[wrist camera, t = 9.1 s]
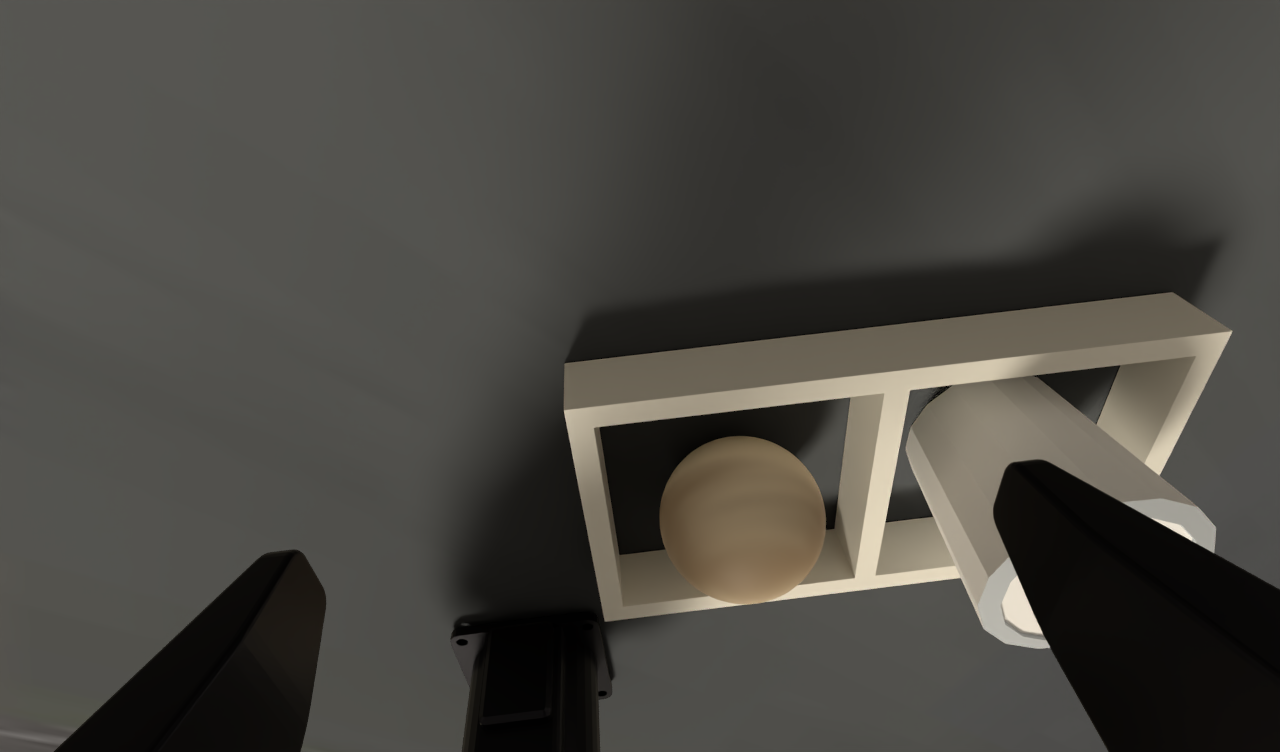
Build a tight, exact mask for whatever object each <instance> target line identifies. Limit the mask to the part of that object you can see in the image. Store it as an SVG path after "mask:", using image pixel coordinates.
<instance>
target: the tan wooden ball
mask: <svg viewBox="0 0 1280 752" xmlns="http://www.w3.org/2000/svg"><path fill="white" fill-rule="evenodd" d="M659 513H660V531H661V536H662V540H663V544H664V546H665V549H666V551H667V553H668V556H669V558H670V560H671V561H672V563H673V564H674V566H675V568H676V569H677V571H678V572H679V573H680V574H681V575H682V576H683V577H684V578H685V579H686V580H687V582H689V583H690V584H691V585H693V586H694V587H695V588H696V589H698V590H699V591H701V592H702V593H704V594H706V595H708V596H710V597H712V598H715V599H717V600H721V601H724V602H728V603H734V604H757V603H762V602H766V601H770V600H773V599H776V598H778V597H780V596H782V595H784V594H786V593H788V592H789V591H791V590H792V589H793V588H795V587H796V586H797V585H798V584H799V583H801V582H802V581H803V580H804V579H805V578H806V576H807V575H808V574H809V572H810V571H811V570H812V568H813V567H814V565H815V563H816V562H817V559H818V557H819V555H820V552H821V550H822V547H823V542H824V538H825V533H826V514H825V507H824V502H823V499H822V496H821V493H820V490H819V488H818V485H817V484H816V482H815V480H814V478H813V477H812V475H811V473H810V472H809V471H808V469H807V468H806V467H805V466H804V465H803V464H802V462H801V461H800V460H799V459H797V458H796V457H795V456H794V455H793V454H791V453H790V452H789V451H787V450H786V449H784V448H782V447H781V446H779V445H777V444H775V443H772V442H770V441H767V440H764V439H760V438H756V437H750V436H731V437H724V438H720V439H716V440H713V441H711V442H708V443H706V444H704V445H702V446H700V447H698V448H697V449H695V450H694V451H692V452H691V453H690V454H688V455H687V456H686V457H685V458H684V459H683V460H682V461H681V462H680V463H679V464H678V466H677V467H676V468H675V470H674V471H673V473H672V474H671V476H670V478H669V480H668V482H667V484H666V486H665V489H664V492H663V495H662V499H661V504H660V512H659Z"/></svg>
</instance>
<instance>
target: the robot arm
mask: <svg viewBox="0 0 1280 752" xmlns="http://www.w3.org/2000/svg"><path fill="white" fill-rule="evenodd" d="M993 518H994V522H995V525H996V528H997V530H998V532H999V535H1000V537H1001V539H1002V542H1003V544H1004V546H1005V549H1006V551H1007V553H1008V556H1009V558H1010V560H1011V563H1012V565H1013V567H1014V570H1015V572H1016V574H1017V576H1018V579H1019V581H1020V583H1021V586H1022V588H1023V590H1024V593H1025V595H1026V597H1027V600H1028V602H1029V604H1030V607H1031V609H1032V611H1033V614H1034V616H1035V618H1036V620H1037V622H1038V624H1039V627H1040V629H1041V631H1042V633H1043V635H1044V637H1045V639H1046V641H1047V643H1048V644H1049V646H1050V648H1051V650H1052V652H1053V654H1054V655H1055V657H1056V659H1057V661H1058V663H1059V664H1060V666H1061V668H1062V670H1063V672H1064V673H1065V675H1066V677H1067V679H1068V680H1069V682H1070V684H1071V686H1072V688H1073V689H1074V691H1075V693H1076V695H1077V696H1078V698H1079V700H1080V702H1081V704H1082V705H1083V707H1084V709H1085V711H1086V712H1087V714H1088V716H1089V718H1090V720H1091V721H1092V723H1093V725H1094V727H1095V729H1096V730H1097V732H1098V734H1099V736H1100V737H1101V739H1102V741H1103V743H1104V745H1105V746H1106V748H1107V750H1108V752H1280V589H1278V588H1276V587H1274V586H1272V585H1271V584H1269V583H1267V582H1265V581H1263V580H1262V579H1260V578H1258V577H1256V576H1254V575H1253V574H1251V573H1249V572H1247V571H1245V570H1244V569H1242V568H1240V567H1238V566H1236V565H1234V564H1233V563H1231V562H1229V561H1227V560H1225V559H1224V558H1222V557H1220V556H1218V555H1216V554H1215V553H1213V552H1211V551H1209V550H1207V549H1206V548H1204V547H1202V546H1200V545H1198V544H1197V543H1195V542H1193V541H1191V540H1189V539H1188V538H1186V537H1184V536H1182V535H1180V534H1178V533H1177V532H1175V531H1173V530H1171V529H1169V528H1168V527H1166V526H1164V525H1162V524H1160V523H1159V522H1157V521H1155V520H1153V519H1151V518H1150V517H1148V516H1146V515H1144V514H1142V513H1141V512H1139V511H1137V510H1135V509H1133V508H1132V507H1130V506H1128V505H1126V504H1124V503H1122V502H1121V501H1119V500H1117V499H1115V498H1113V497H1112V496H1110V495H1108V494H1106V493H1104V492H1103V491H1101V490H1099V489H1097V488H1095V487H1094V486H1092V485H1090V484H1088V483H1086V482H1085V481H1083V480H1081V479H1079V478H1077V477H1076V476H1074V475H1072V474H1070V473H1068V472H1066V471H1065V470H1063V469H1061V468H1059V467H1057V466H1056V465H1054V464H1052V463H1050V462H1048V461H1046V460H1042V459H1034V460H1026V461H1017V462H1012V463H1010V464H1009V465H1008V466H1007V467H1006V468H1005V470H1004V473H1003V477H1002V480H1001V483H1000V486H999V489H998V492H997V495H996V499H995V502H994V505H993ZM325 610H326V595H325V591H324V589H323V586H322V585H321V583H320V581H319V579H318V578H317V576H316V574H315V572H314V571H313V569H312V567H311V566H310V564H309V562H308V560H307V559H306V557H305V555H304V554H303V553H302V552H300V551H298V550H286V551H277V552H270V553H266V554H264V555H262V556H261V557H260V558H258V559H257V560H256V561H255V562H254V563H253V564H252V565H251V566H250V567H249V568H248V569H247V570H245V571H244V572H243V573H242V574H241V575H240V576H239V577H238V578H237V579H236V580H235V581H234V582H233V583H232V584H231V585H230V586H229V587H227V588H226V589H225V590H224V591H223V592H222V593H221V594H220V595H219V596H218V597H217V598H216V599H215V600H214V601H213V602H212V603H211V604H209V605H208V606H207V607H206V608H205V609H204V610H203V611H202V612H201V613H200V614H199V615H198V616H197V617H196V618H195V619H194V620H193V621H191V622H190V623H189V624H188V625H187V626H186V627H185V628H184V629H183V630H182V631H181V632H180V633H179V634H178V635H177V636H176V637H174V638H173V639H172V640H171V641H170V642H169V643H168V644H167V645H166V646H165V647H164V648H163V649H162V650H161V651H160V652H159V653H158V654H156V655H155V656H154V657H153V658H152V659H151V660H150V661H149V662H148V663H147V664H146V665H145V666H144V667H143V668H142V669H141V670H140V671H138V672H137V673H136V674H135V675H134V676H133V677H132V678H131V679H130V680H129V681H128V682H127V683H126V684H125V685H124V686H123V687H122V688H120V689H119V690H118V691H117V692H116V693H115V694H114V695H113V696H112V697H111V698H110V699H109V700H108V701H107V702H106V703H105V704H104V705H102V706H101V707H100V708H99V709H98V710H97V711H96V712H95V713H94V714H93V715H92V716H91V717H90V718H89V719H88V720H87V721H86V722H84V723H83V724H82V725H81V726H80V727H79V728H78V729H77V730H76V731H75V732H74V733H73V734H72V735H71V736H70V737H69V738H68V739H66V740H65V741H64V742H63V743H62V744H61V745H60V746H59V747H58V748H57V749H56V750H55V751H54V752H300V751H301V748H302V744H303V739H304V735H305V731H306V727H307V722H308V717H309V711H310V706H311V700H312V693H313V687H314V680H315V674H316V668H317V661H318V655H319V649H320V642H321V636H322V629H323V623H324V617H325ZM450 642H451V646H452V648H453V650H454V653H455V655H456V657H457V660H458V662H459V664H460V666H461V669H462V671H463V673H464V676H465V678H466V680H467V683H468V685H469V687H470V692H469V700H468V708H467V715H466V723H465V731H464V738H463V746H462V752H600V732H599V701H598V700H600V699H606V698H608V697H610V696H611V695H612V683H611V678H610V673H609V668H608V664H607V659H606V654H605V649H604V644H603V639H602V634H601V629H600V624H599V619H598V616H597V615H596V614H594V613H591V612H583V613H575V614H566V615H558V616H550V617H542V618H534V619H526V620H518V621H510V622H502V623H494V624H485V625H477V626H469V627H461V628H457V629H455V630H453V632H452V635H451V641H450Z"/></svg>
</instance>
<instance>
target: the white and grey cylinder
mask: <svg viewBox="0 0 1280 752" xmlns="http://www.w3.org/2000/svg"><path fill="white" fill-rule="evenodd" d="M905 449H906V452H907V456H908V459H909V462H910V465H911V468H912V470H913V472H914V475H915V477H916V479H917V481H918V484H919V486H920V488H921V490H922V492H923V495H924V497H925V499H926V501H927V504H928V506H929V508H930V510H931V512H932V515H933V517H934V519H935V521H936V524H937V526H938V528H939V530H940V533H941V535H942V537H943V539H944V541H945V544H946V546H947V548H948V550H949V553H950V555H951V557H952V559H953V561H954V564H955V566H956V568H957V570H958V573H959V575H960V577H961V579H962V582H963V584H964V586H965V588H966V590H967V593H968V595H969V597H970V599H971V602H972V604H973V606H974V608H975V610H976V613H977V615H978V617H979V619H980V622H981V624H982V626H983V628H984V629H985V630H986V631H988V632H989V633H991V634H992V635H993V636H995V637H996V638H998V639H999V640H1001V641H1002V642H1004V643H1005V644H1012V645H1018V646H1024V647H1030V648H1037V649H1041V648H1050V646H1049V644H1048V643H1047V641H1046V639H1045V637H1044V635H1043V633H1042V631H1041V629H1040V627H1039V624H1038V622H1037V620H1036V618H1035V616H1034V614H1033V611H1032V609H1031V607H1030V604H1029V602H1028V600H1027V597H1026V595H1025V593H1024V590H1023V588H1022V586H1021V583H1020V581H1019V579H1018V576H1017V574H1016V572H1015V570H1014V567H1013V565H1012V563H1011V560H1010V558H1009V556H1008V553H1007V551H1006V549H1005V546H1004V544H1003V542H1002V539H1001V537H1000V535H999V532H998V530H997V528H996V525H995V522H994V518H993V505H994V502H995V499H996V495H997V492H998V489H999V486H1000V483H1001V480H1002V477H1003V473H1004V470H1005V468H1006V467H1007V466H1008V465H1009V464H1010V463H1012V462H1017V461H1026V460H1034V459H1042V460H1046V461H1048V462H1050V463H1052V464H1054V465H1056V466H1057V467H1059V468H1061V469H1063V470H1065V471H1066V472H1068V473H1070V474H1072V475H1074V476H1076V477H1077V478H1079V479H1081V480H1083V481H1085V482H1086V483H1088V484H1090V485H1092V486H1094V487H1095V488H1097V489H1099V490H1101V491H1103V492H1104V493H1106V494H1108V495H1110V496H1112V497H1113V498H1115V499H1117V500H1119V501H1121V502H1122V503H1124V504H1126V505H1128V506H1130V507H1132V508H1133V509H1135V510H1137V511H1139V512H1141V513H1142V514H1144V515H1146V516H1148V517H1150V518H1151V519H1153V520H1155V521H1157V522H1159V523H1160V524H1162V525H1164V526H1166V527H1168V528H1169V529H1171V530H1173V531H1175V532H1177V533H1178V534H1180V535H1182V536H1184V537H1186V538H1188V539H1189V540H1191V541H1193V542H1195V543H1197V544H1198V545H1200V546H1202V547H1204V548H1206V549H1207V550H1209V551H1211V552H1213V553H1214V548H1215V535H1216V527H1215V526H1214V525H1213V523H1212V522H1211V521H1210V520H1209V519H1208V518H1207V517H1206V515H1205V514H1204V513H1203V512H1202V511H1201V510H1200V509H1199V507H1197V506H1196V505H1195V504H1194V503H1192V502H1191V501H1190V500H1189V499H1187V498H1186V497H1185V496H1184V495H1182V494H1181V493H1180V492H1179V491H1178V490H1176V489H1175V488H1174V487H1173V486H1171V485H1170V484H1169V483H1168V482H1166V481H1165V480H1164V479H1163V478H1161V477H1160V476H1159V475H1158V474H1157V473H1155V472H1154V471H1153V470H1152V469H1150V468H1149V467H1148V466H1147V465H1145V464H1144V463H1143V462H1142V461H1140V460H1139V459H1138V458H1137V457H1135V456H1134V455H1133V454H1132V453H1131V452H1129V451H1128V450H1127V449H1126V448H1124V447H1123V446H1122V445H1121V444H1119V443H1118V442H1117V441H1116V440H1114V439H1113V438H1112V437H1111V436H1109V435H1108V434H1107V433H1106V432H1105V431H1103V430H1102V429H1101V428H1100V427H1098V426H1097V425H1096V424H1095V423H1093V422H1092V421H1091V420H1090V419H1088V418H1087V417H1086V416H1085V415H1084V414H1082V413H1081V412H1080V411H1079V410H1077V409H1076V408H1075V407H1074V406H1072V405H1071V404H1070V403H1069V402H1067V401H1066V400H1065V399H1064V398H1062V397H1061V396H1060V395H1059V394H1058V393H1056V392H1055V391H1054V390H1053V389H1051V388H1050V387H1049V386H1048V385H1046V384H1045V383H1044V382H1043V381H1041V380H1040V379H1039V378H1038V377H1034V376H1024V377H1016V378H1007V379H999V380H991V381H982V382H974V383H965V384H957V385H952V386H951V387H950V388H948V389H947V390H946V391H944V392H943V393H942V394H940V395H939V396H938V397H936V398H935V399H934V400H932V401H931V402H930V403H928V404H927V405H926V407H925V408H924V409H923V411H922V412H921V413H920V415H919V416H918V418H917V419H916V420H915V422H914V423H913V424H912V426H911V428H910V432H909V436H908V440H907V444H906V448H905Z"/></svg>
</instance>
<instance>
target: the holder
mask: <svg viewBox="0 0 1280 752" xmlns="http://www.w3.org/2000/svg"><path fill="white" fill-rule="evenodd" d="M1231 333H1232V331H1231V330H1230V329H1228V328H1227V327H1225V326H1224V325H1222V324H1221V323H1219V322H1218V321H1216V320H1215V319H1213V318H1212V317H1210V316H1208V315H1207V314H1205V313H1204V312H1202V311H1201V310H1199V309H1198V308H1196V307H1195V306H1193V305H1192V304H1190V303H1189V302H1187V301H1185V300H1184V299H1182V298H1181V297H1179V296H1178V295H1176V294H1175V293H1173V292H1169V293H1161V294H1152V295H1144V296H1135V297H1127V298H1118V299H1109V300H1101V301H1092V302H1084V303H1075V304H1067V305H1058V306H1050V307H1041V308H1033V309H1024V310H1016V311H1007V312H998V313H990V314H981V315H973V316H964V317H956V318H947V319H939V320H930V321H922V322H913V323H904V324H896V325H887V326H879V327H870V328H862V329H853V330H845V331H836V332H828V333H819V334H811V335H802V336H793V337H785V338H776V339H768V340H759V341H751V342H742V343H734V344H725V345H717V346H708V347H699V348H691V349H682V350H674V351H665V352H657V353H648V354H640V355H631V356H623V357H614V358H606V359H597V360H588V361H580V362H571V363H565V365H564V414H565V420H566V425H567V430H568V435H569V440H570V445H571V450H572V456H573V461H574V466H575V471H576V476H577V481H578V486H579V492H580V497H581V502H582V507H583V512H584V517H585V522H586V528H587V533H588V538H589V543H590V548H591V553H592V558H593V564H594V569H595V574H596V579H597V584H598V589H599V594H600V600H601V605H602V610H603V615H604V620H605V622H607V621H615V620H624V619H632V618H640V617H648V616H656V615H664V614H672V613H680V612H688V611H696V610H704V609H712V608H720V607H729V606H737V605H745V604H734V603H728V602H724V601H721V600H717V599H715V598H712V597H710V596H708V595H706V594H704V593H702V592H701V591H699V590H698V589H696V588H695V587H694V586H693V585H691V584H690V583H689V582H687V580H686V579H685V578H684V577H683V576H682V575H681V574H680V573H679V572H678V571H677V569H676V568H675V566H674V564H673V563H672V561H671V560H670V558H669V556H668V553H667V551H666V549H665V550H657V551H649V552H641V553H633V554H624V555H619V549H618V543H617V537H616V530H615V524H614V517H613V511H612V505H611V498H610V492H609V486H608V479H607V473H606V467H605V460H604V454H603V448H602V441H601V435H600V429H599V427H603V426H612V425H620V424H629V423H637V422H646V421H654V420H662V419H671V418H679V417H688V416H696V415H704V414H713V413H721V412H730V411H738V410H747V409H755V408H763V407H772V406H780V405H789V404H797V403H805V402H814V401H822V400H831V399H839V398H848V397H851V398H850V406H849V414H848V422H847V430H846V438H845V446H844V454H843V462H842V470H841V478H840V487H839V495H838V503H837V511H836V519H835V527H834V529H829V530H826V533H825V538H824V542H823V547H822V550H821V552H820V555H819V557H818V559H817V562H816V563H815V565H814V567H813V568H812V570H811V571H810V572H809V574H808V575H807V576H806V578H805V579H804V580H803V581H802V582H801V583H799V584H798V585H797V586H796V587H795V588H793V589H792V590H791V591H789V592H788V593H786V594H784V595H782V596H780V597H778V598H776V599H773V600H770V601H777V600H785V599H793V598H801V597H809V596H817V595H826V594H834V593H842V592H850V591H858V590H866V589H874V588H882V587H890V586H898V585H906V584H914V583H922V582H931V581H939V580H947V579H955V578H961V577H960V575H959V573H958V570H957V568H956V566H955V564H954V561H953V559H952V557H951V555H950V553H949V550H948V548H947V546H946V544H945V541H944V539H943V537H942V535H941V533H940V530H939V528H938V526H937V524H936V521H935V519H934V517H927V518H919V519H911V520H903V521H895V522H886V523H885V521H886V516H887V511H888V505H889V500H890V495H891V489H892V484H893V479H894V473H895V468H896V463H897V457H898V452H899V447H900V441H901V436H902V431H903V425H904V420H905V415H906V409H907V404H908V399H909V393H910V390H915V389H923V388H932V387H940V386H949V385H957V384H965V383H974V382H982V381H991V380H999V379H1007V378H1016V377H1024V376H1033V375H1041V374H1050V373H1058V372H1066V371H1075V370H1083V369H1092V368H1100V367H1108V366H1117V365H1120V368H1119V370H1118V373H1117V375H1116V378H1115V380H1114V383H1113V385H1112V387H1111V390H1110V392H1109V395H1108V397H1107V400H1106V402H1105V405H1104V407H1103V410H1102V412H1101V415H1100V417H1099V419H1098V422H1097V424H1096V425H1097V426H1098V427H1100V428H1101V429H1102V430H1103V431H1105V432H1106V433H1107V434H1108V435H1109V436H1111V437H1112V438H1113V439H1114V440H1116V441H1117V442H1118V443H1119V444H1121V445H1122V446H1123V447H1124V448H1126V449H1127V450H1128V451H1129V452H1131V453H1132V454H1133V455H1134V456H1135V457H1137V458H1138V459H1139V460H1140V461H1142V462H1143V463H1144V464H1145V465H1147V466H1148V467H1149V468H1150V469H1152V470H1153V471H1154V472H1155V473H1157V474H1158V475H1160V473H1161V471H1162V469H1163V467H1164V466H1165V464H1166V462H1167V460H1168V458H1169V456H1170V454H1171V452H1172V450H1173V448H1174V446H1175V444H1176V442H1177V440H1178V438H1179V436H1180V434H1181V432H1182V430H1183V428H1184V426H1185V424H1186V422H1187V420H1188V418H1189V416H1190V414H1191V412H1192V410H1193V408H1194V406H1195V404H1196V402H1197V400H1198V398H1199V396H1200V394H1201V393H1202V391H1203V389H1204V387H1205V385H1206V383H1207V381H1208V379H1209V377H1210V375H1211V373H1212V371H1213V369H1214V367H1215V365H1216V363H1217V361H1218V359H1219V357H1220V355H1221V353H1222V351H1223V349H1224V347H1225V345H1226V343H1227V341H1228V339H1229V337H1230V335H1231ZM766 602H769V601H766Z"/></svg>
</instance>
